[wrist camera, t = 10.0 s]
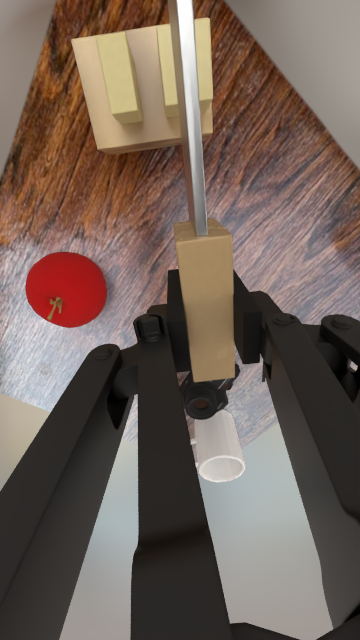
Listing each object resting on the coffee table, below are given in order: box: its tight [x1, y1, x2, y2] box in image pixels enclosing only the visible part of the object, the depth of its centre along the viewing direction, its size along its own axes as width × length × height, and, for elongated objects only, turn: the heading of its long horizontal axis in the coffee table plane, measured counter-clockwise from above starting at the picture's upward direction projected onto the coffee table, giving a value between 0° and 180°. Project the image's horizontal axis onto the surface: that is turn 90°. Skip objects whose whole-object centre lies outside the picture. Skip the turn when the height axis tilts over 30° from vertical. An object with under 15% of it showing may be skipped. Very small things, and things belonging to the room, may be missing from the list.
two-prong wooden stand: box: [71, 17, 213, 155], centre depth 23 cm, size 10×7×6 cm, turn 97°
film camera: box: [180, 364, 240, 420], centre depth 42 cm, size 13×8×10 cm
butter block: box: [156, 18, 213, 118], centre depth 18 cm, size 4×4×4 cm
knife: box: [168, 0, 235, 382], centre depth 11 cm, size 20×2×5 cm, turn 7°
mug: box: [190, 409, 245, 482], centre depth 47 cm, size 8×12×10 cm
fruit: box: [25, 252, 107, 328], centre depth 30 cm, size 9×9×10 cm
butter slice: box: [96, 32, 143, 125], centre depth 19 cm, size 2×4×4 cm, turn 7°
